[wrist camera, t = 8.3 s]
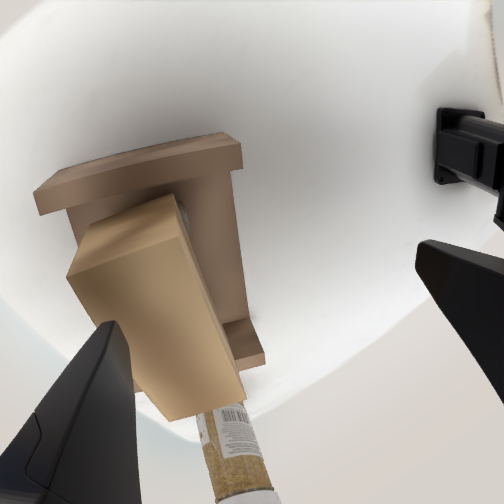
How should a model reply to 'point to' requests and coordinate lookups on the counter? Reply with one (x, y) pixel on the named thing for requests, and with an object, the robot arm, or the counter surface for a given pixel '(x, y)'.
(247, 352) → the peg cradle
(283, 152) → the counter surface
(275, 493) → the sprinkles bottle
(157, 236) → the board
